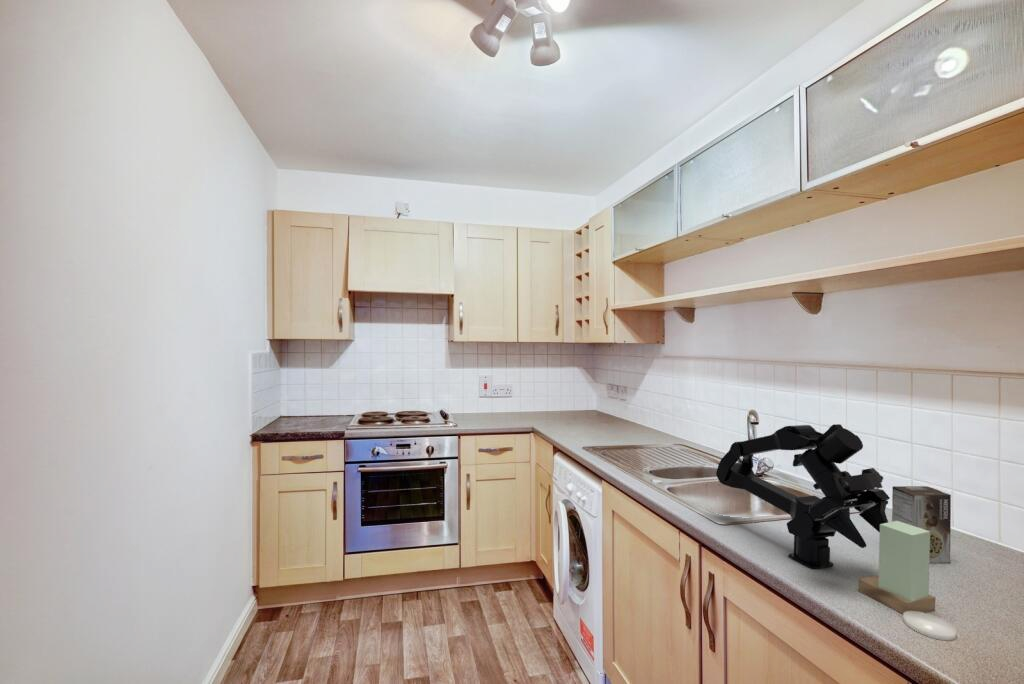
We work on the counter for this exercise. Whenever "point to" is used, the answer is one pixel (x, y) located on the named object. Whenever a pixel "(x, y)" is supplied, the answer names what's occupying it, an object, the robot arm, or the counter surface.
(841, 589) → the counter surface
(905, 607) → the podium
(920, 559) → the carton
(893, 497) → the coffee box
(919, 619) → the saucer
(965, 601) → the counter surface
